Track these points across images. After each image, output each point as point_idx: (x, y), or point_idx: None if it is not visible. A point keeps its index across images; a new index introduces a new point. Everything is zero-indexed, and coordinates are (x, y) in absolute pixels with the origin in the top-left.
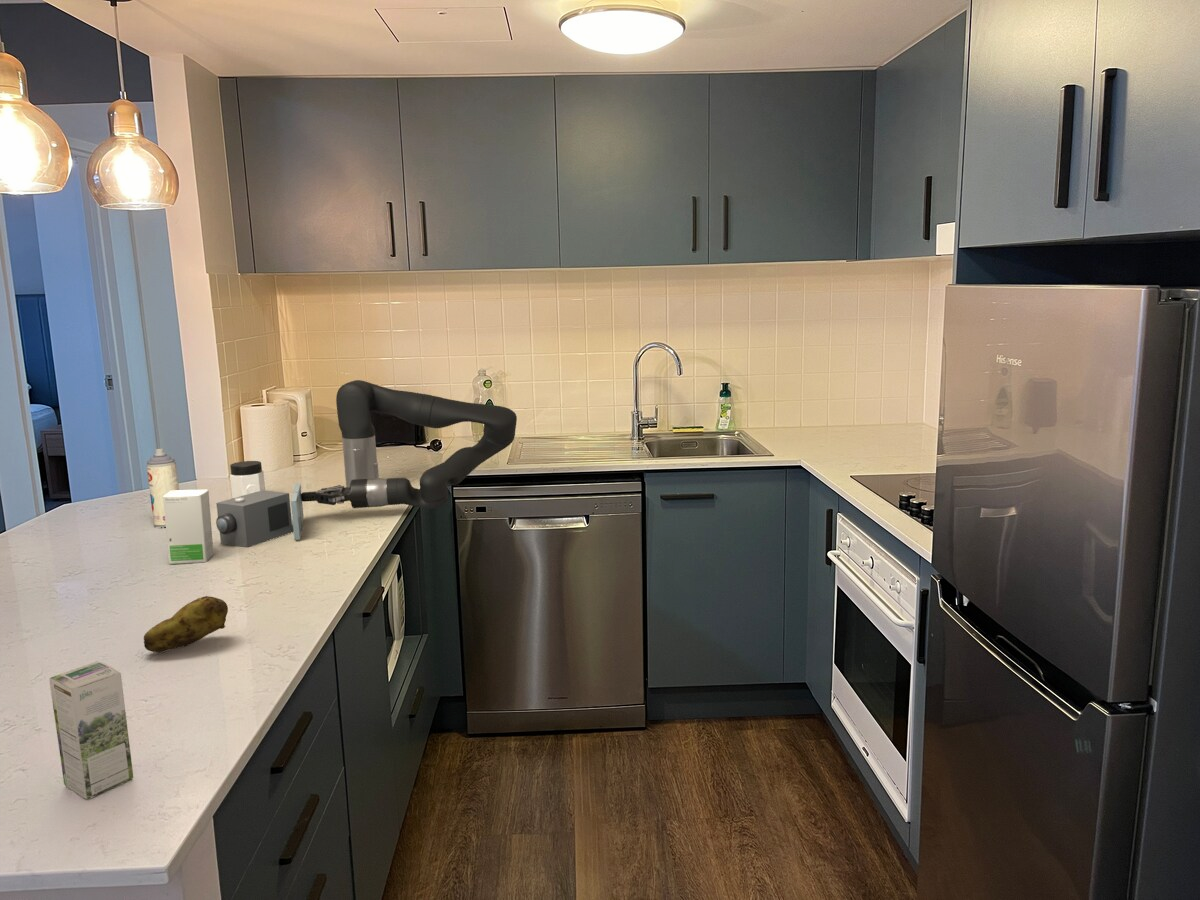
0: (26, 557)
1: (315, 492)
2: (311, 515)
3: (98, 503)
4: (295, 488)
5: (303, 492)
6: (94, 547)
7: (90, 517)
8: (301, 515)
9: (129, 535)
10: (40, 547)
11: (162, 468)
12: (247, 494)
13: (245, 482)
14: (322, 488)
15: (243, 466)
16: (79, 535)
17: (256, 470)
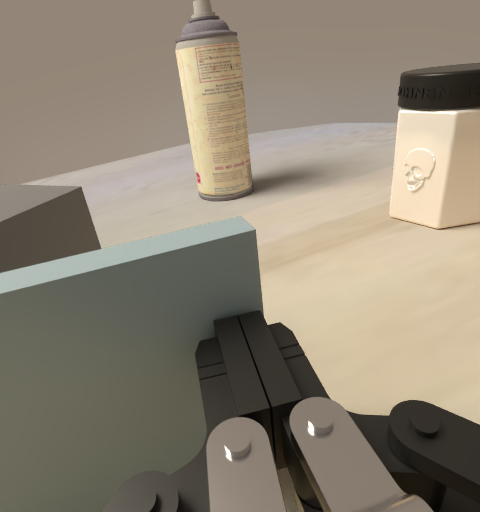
0: (71, 175)
1: (243, 412)
2: None
3: (343, 127)
4: (17, 273)
5: (247, 316)
6: (91, 191)
7: (271, 143)
8: (58, 482)
9: (156, 189)
10: (119, 167)
11: (180, 54)
12: (3, 185)
13: (407, 135)
14: (424, 413)
15: (414, 74)
16: (173, 165)
17: (457, 96)
